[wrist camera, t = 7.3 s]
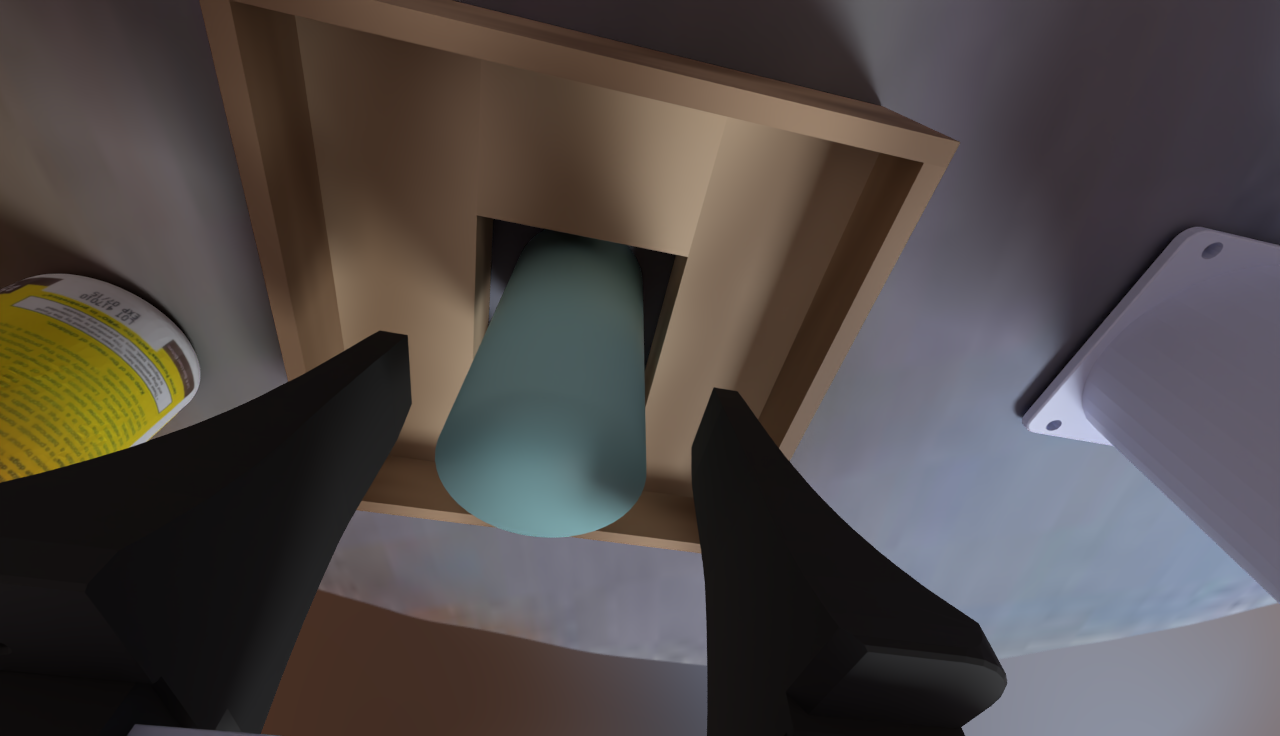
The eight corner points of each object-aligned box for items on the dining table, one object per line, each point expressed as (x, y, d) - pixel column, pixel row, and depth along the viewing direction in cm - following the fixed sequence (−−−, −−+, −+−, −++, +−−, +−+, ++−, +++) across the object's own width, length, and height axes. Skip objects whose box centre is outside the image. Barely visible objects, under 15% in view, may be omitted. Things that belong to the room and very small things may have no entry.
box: (882, 106, 13) (960, 142, 10) (722, 472, 21) (737, 557, 18) (312, -34, 12) (188, -45, 8) (369, 421, 20) (317, 505, 17)
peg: (660, 245, 16) (677, 422, 9) (621, 350, 18) (612, 552, 11) (529, 204, 15) (447, 365, 8) (505, 318, 17) (425, 515, 11)
